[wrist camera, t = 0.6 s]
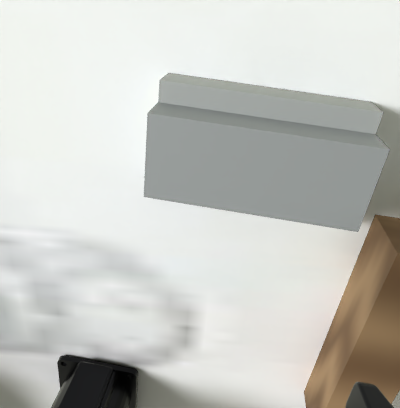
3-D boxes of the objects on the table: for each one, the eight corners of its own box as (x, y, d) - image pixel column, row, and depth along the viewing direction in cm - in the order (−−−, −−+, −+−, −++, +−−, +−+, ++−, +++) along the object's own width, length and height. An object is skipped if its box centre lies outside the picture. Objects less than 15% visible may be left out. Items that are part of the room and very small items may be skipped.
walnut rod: (349, 397, 29) (362, 452, 25) (303, 388, 29) (310, 441, 25) (436, 222, 21) (473, 266, 17) (374, 212, 21) (397, 253, 18)
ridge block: (335, 208, 21) (351, 249, 17) (161, 180, 21) (143, 214, 18) (371, 101, 18) (399, 125, 14) (168, 73, 19) (148, 88, 15)
